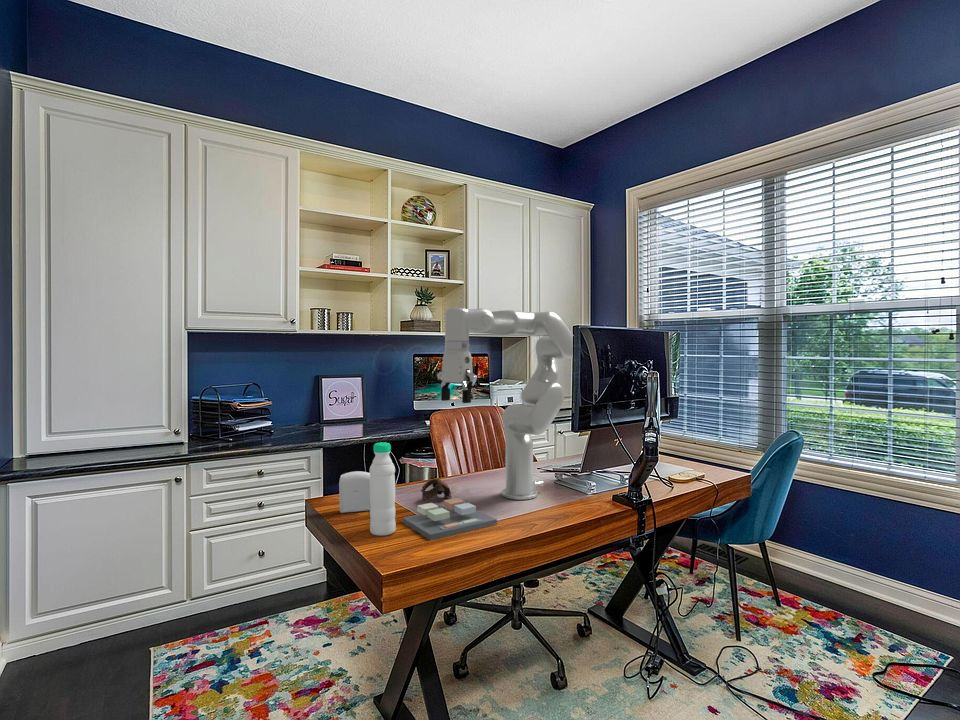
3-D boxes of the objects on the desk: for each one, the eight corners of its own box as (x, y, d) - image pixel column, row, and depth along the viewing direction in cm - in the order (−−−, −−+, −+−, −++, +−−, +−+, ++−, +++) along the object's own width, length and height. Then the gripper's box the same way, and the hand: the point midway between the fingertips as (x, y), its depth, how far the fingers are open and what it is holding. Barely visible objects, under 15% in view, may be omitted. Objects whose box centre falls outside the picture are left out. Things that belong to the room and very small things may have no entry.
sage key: (441, 513, 155) (441, 507, 155) (449, 518, 152) (449, 511, 152) (427, 517, 153) (427, 510, 153) (434, 521, 149) (434, 514, 149)
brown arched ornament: (454, 505, 176) (442, 485, 173) (429, 517, 176) (417, 498, 174) (453, 486, 187) (442, 467, 185) (429, 498, 188) (418, 479, 185)
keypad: (465, 509, 169) (465, 503, 169) (497, 524, 155) (497, 517, 155) (402, 522, 157) (402, 516, 157) (430, 540, 143) (430, 532, 143)
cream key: (431, 508, 160) (431, 502, 160) (438, 512, 157) (438, 506, 157) (417, 511, 158) (417, 505, 158) (424, 515, 154) (424, 509, 154)
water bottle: (365, 532, 149) (364, 443, 148) (386, 526, 154) (385, 440, 153) (379, 538, 144) (378, 446, 143) (400, 532, 149) (400, 443, 148)
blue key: (467, 508, 160) (467, 502, 160) (475, 512, 157) (475, 506, 157) (454, 511, 158) (454, 505, 158) (462, 515, 154) (462, 509, 154)
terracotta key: (457, 503, 165) (457, 497, 165) (464, 507, 162) (464, 501, 162) (443, 506, 163) (443, 500, 163) (451, 509, 159) (451, 503, 159)
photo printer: (339, 514, 165) (338, 474, 165) (339, 509, 169) (339, 471, 169) (373, 511, 168) (372, 472, 167) (372, 507, 172) (372, 469, 172)
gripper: (484, 347, 164) (483, 403, 164) (447, 347, 176) (446, 399, 176) (467, 347, 159) (466, 404, 159) (429, 346, 171) (429, 400, 171)
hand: (455, 401), depth 168 cm, fingers open, 9 cm apart
